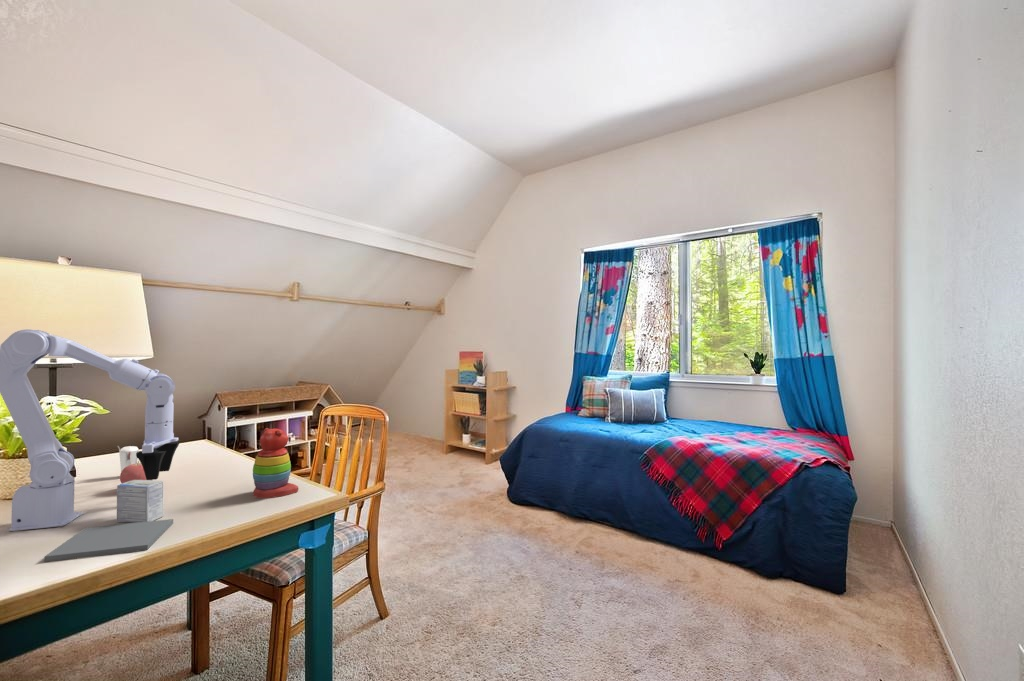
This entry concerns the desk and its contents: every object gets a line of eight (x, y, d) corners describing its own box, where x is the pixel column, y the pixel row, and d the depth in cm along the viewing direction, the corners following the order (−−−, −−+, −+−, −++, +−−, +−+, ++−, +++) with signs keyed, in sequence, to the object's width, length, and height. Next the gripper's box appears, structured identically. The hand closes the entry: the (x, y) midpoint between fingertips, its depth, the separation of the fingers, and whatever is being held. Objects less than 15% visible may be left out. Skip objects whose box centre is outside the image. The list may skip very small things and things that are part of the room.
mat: (44, 561, 85) (44, 556, 85) (85, 532, 98) (85, 527, 98) (147, 549, 90) (147, 544, 90) (173, 523, 104) (173, 518, 104)
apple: (129, 486, 129) (130, 458, 130) (159, 484, 131) (159, 457, 131) (113, 494, 122) (114, 465, 122) (144, 492, 124) (145, 463, 124)
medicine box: (164, 517, 107) (164, 480, 107) (147, 524, 103) (147, 486, 103) (133, 515, 108) (134, 478, 108) (115, 522, 104) (116, 484, 104)
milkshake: (111, 478, 136) (112, 445, 136) (131, 473, 141) (132, 441, 141) (122, 480, 135) (123, 446, 135) (141, 475, 140) (142, 442, 140)
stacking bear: (301, 491, 127) (302, 427, 127) (266, 501, 119) (267, 433, 119) (278, 484, 133) (279, 423, 133) (243, 494, 124) (244, 429, 124)
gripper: (167, 425, 110) (166, 481, 110) (187, 416, 124) (186, 466, 123) (131, 427, 108) (130, 484, 107) (156, 417, 121) (155, 468, 121)
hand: (158, 475), depth 115 cm, fingers open, 7 cm apart
